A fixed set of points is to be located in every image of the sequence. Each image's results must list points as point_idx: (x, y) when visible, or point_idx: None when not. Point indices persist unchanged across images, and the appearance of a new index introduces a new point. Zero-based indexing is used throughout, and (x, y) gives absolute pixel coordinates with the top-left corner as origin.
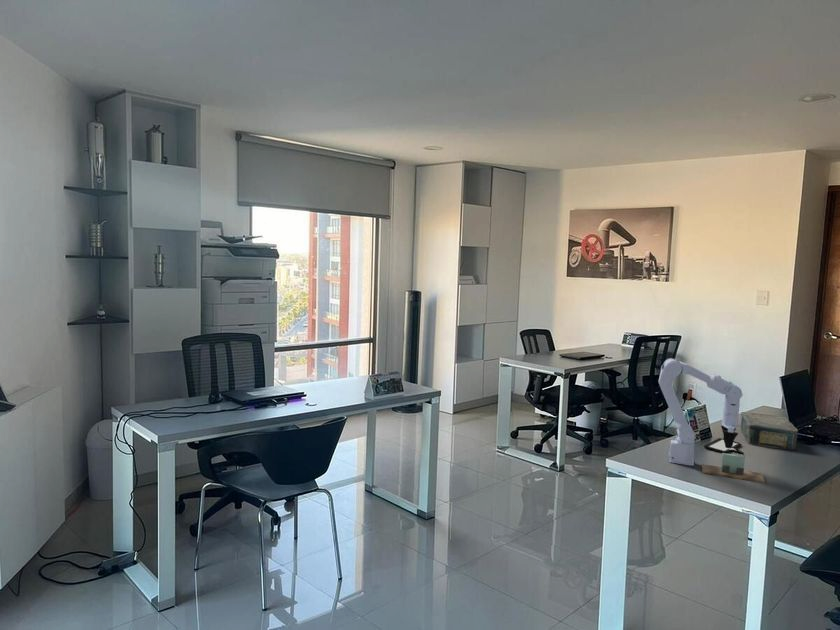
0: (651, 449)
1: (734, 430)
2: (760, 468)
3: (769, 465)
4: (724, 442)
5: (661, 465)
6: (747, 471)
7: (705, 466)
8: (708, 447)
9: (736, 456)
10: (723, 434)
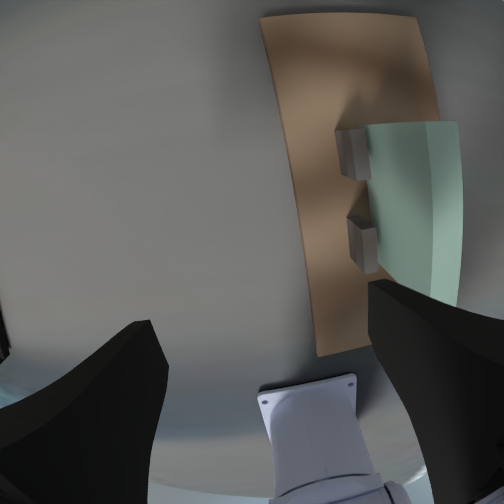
0: (211, 484)
1: (39, 436)
2: (91, 57)
3: (10, 51)
4: (167, 371)
5: (401, 432)
6: (286, 97)
7: (357, 333)
8: (3, 351)
9: (461, 196)
10: (148, 457)
